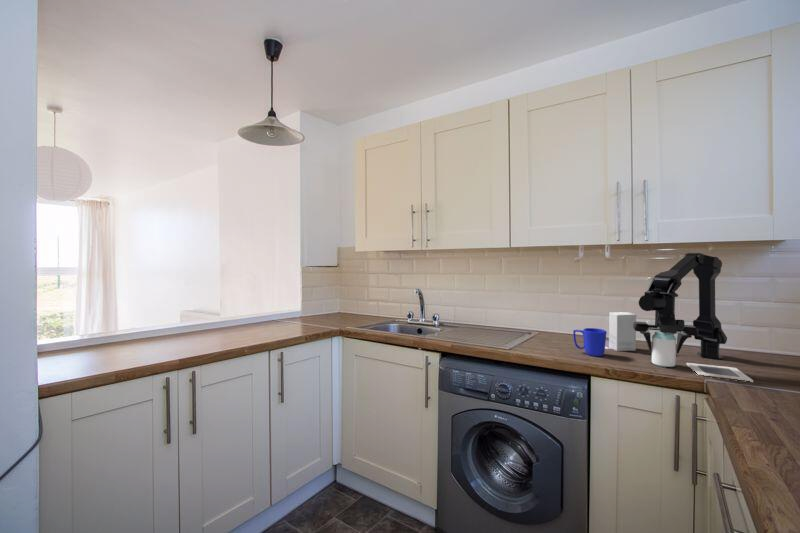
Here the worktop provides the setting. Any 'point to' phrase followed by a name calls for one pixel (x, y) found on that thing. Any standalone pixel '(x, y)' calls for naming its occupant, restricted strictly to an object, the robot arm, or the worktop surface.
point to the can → (663, 349)
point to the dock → (718, 371)
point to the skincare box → (622, 331)
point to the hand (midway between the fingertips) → (663, 351)
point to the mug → (592, 341)
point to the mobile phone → (607, 345)
